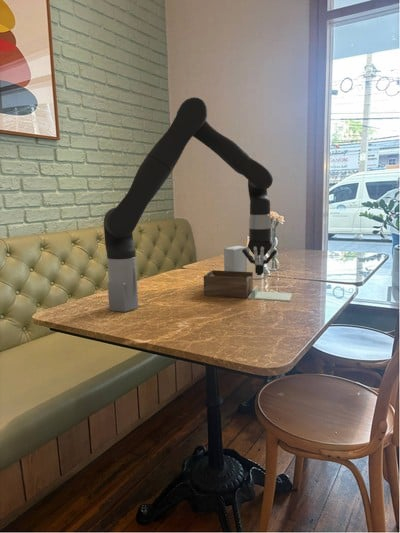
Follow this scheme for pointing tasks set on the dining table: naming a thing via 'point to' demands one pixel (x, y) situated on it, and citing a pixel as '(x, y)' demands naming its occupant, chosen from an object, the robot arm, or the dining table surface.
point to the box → (228, 284)
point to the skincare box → (235, 259)
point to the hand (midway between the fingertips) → (259, 274)
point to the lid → (269, 295)
